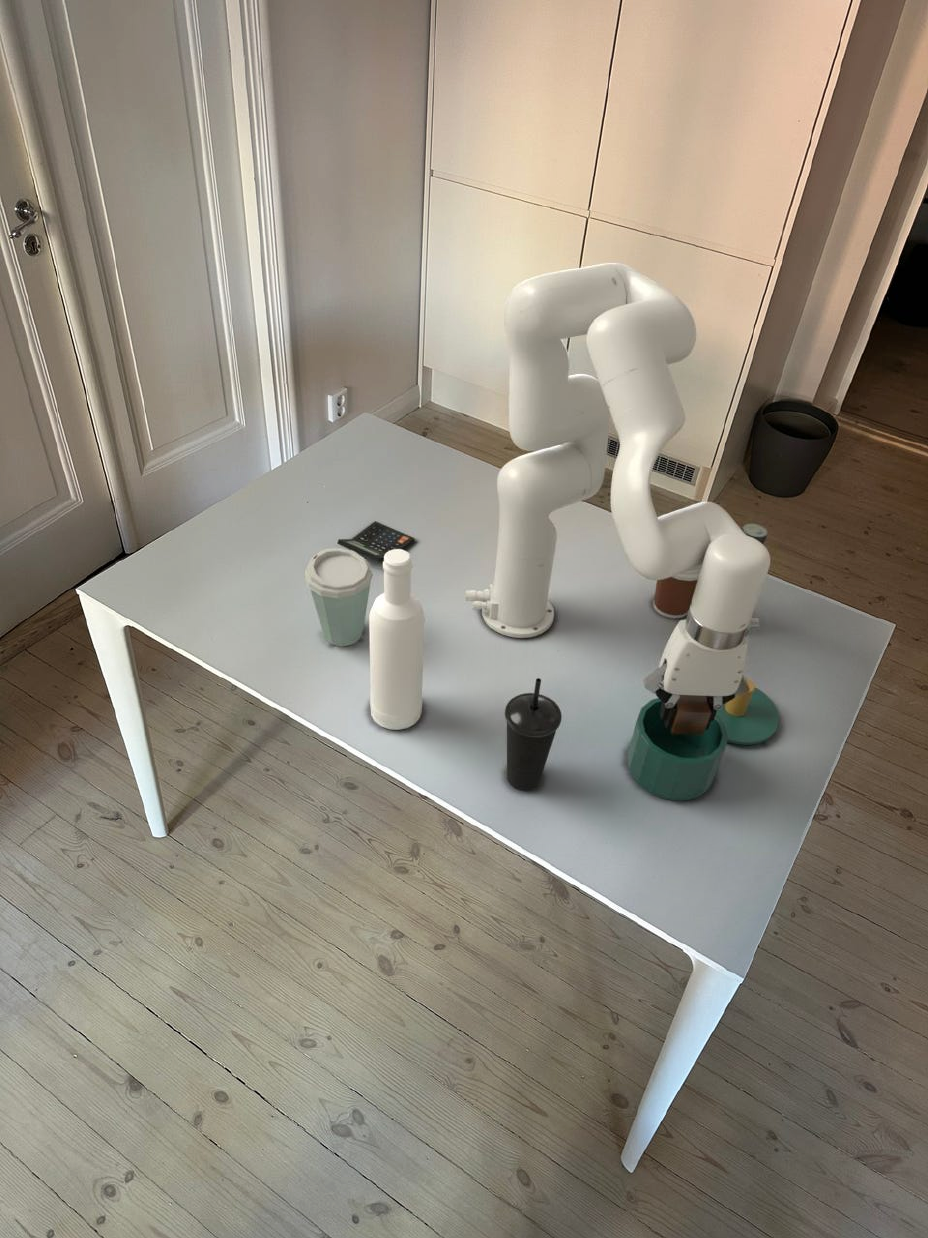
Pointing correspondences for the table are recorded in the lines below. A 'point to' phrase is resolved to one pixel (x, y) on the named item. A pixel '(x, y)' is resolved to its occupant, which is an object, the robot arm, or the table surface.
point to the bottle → (396, 647)
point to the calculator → (377, 541)
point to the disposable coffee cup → (340, 593)
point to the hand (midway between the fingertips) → (685, 720)
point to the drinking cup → (529, 736)
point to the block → (691, 715)
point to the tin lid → (749, 717)
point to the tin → (674, 756)
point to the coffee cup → (676, 593)
